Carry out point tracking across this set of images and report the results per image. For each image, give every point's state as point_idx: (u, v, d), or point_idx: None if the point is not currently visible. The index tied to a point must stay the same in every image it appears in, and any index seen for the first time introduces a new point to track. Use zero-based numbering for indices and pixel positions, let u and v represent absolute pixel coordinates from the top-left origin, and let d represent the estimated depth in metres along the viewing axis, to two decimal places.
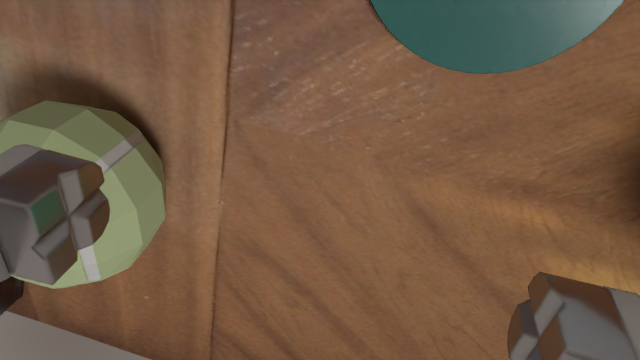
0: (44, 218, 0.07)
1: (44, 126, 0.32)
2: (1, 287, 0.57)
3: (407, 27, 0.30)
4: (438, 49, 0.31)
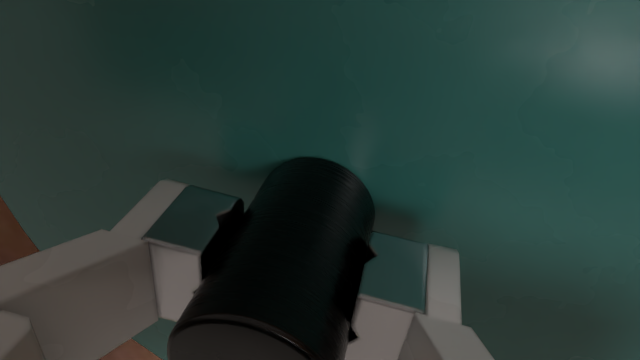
0: (208, 262, 0.07)
1: None
2: None
3: None
4: None
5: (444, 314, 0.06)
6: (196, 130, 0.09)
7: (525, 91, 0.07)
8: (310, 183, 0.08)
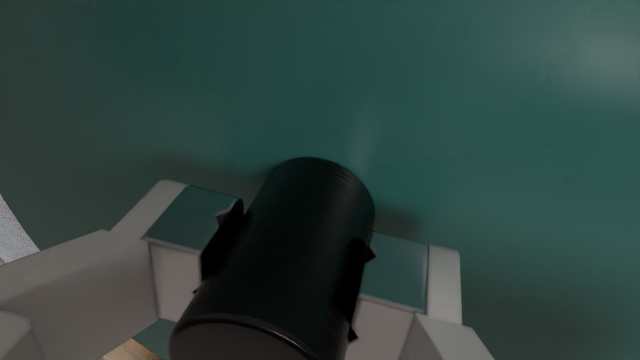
0: (208, 262, 0.07)
1: None
2: None
3: None
4: None
5: (444, 314, 0.06)
6: (197, 130, 0.09)
7: (525, 92, 0.07)
8: (310, 183, 0.08)
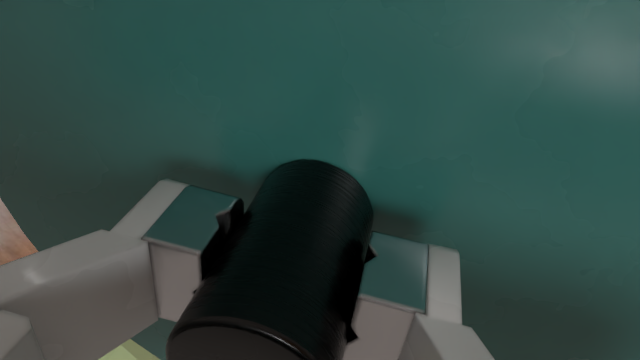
0: (208, 262, 0.07)
1: None
2: None
3: None
4: None
5: (444, 314, 0.06)
6: (195, 133, 0.09)
7: (522, 94, 0.07)
8: (308, 186, 0.08)
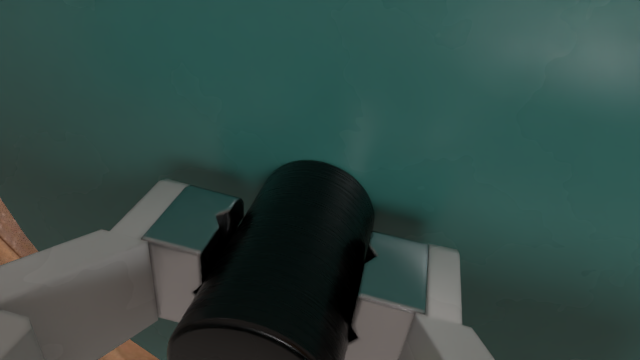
0: (208, 262, 0.07)
1: None
2: None
3: None
4: None
5: (444, 314, 0.06)
6: (196, 133, 0.09)
7: (524, 95, 0.07)
8: (309, 187, 0.08)
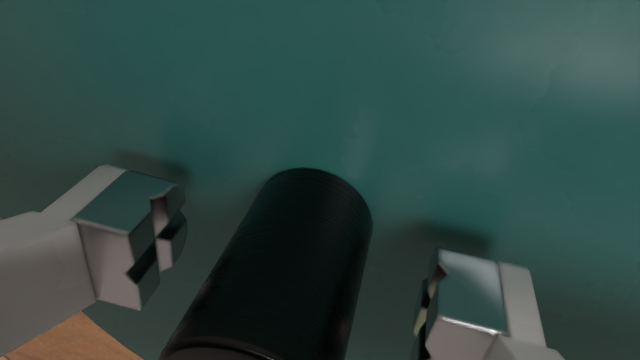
0: (139, 243, 0.07)
1: None
2: None
3: None
4: None
5: (527, 336, 0.06)
6: (190, 140, 0.09)
7: (526, 103, 0.07)
8: (306, 196, 0.08)
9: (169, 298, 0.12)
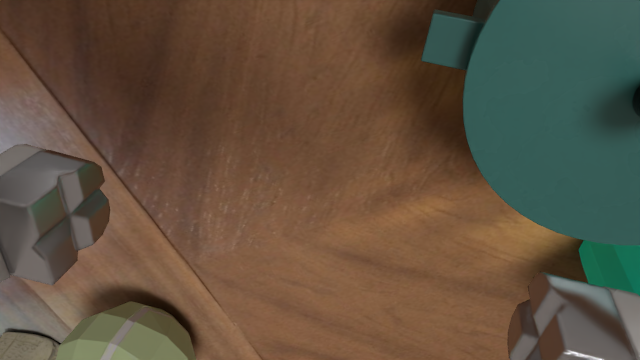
0: (44, 218, 0.07)
1: (74, 339, 0.47)
2: None
3: (603, 227, 0.24)
4: None
5: None
6: (613, 58, 0.19)
7: None
8: None
9: (547, 151, 0.22)
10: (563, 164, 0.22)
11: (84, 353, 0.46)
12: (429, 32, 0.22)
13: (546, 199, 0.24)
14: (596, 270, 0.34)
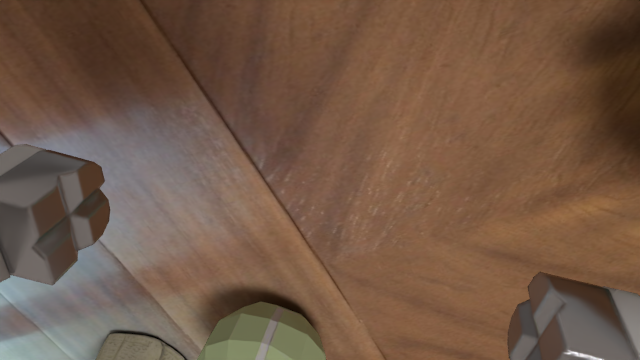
0: (44, 218, 0.07)
1: (223, 340, 0.49)
2: None
3: None
4: None
5: None
6: None
7: None
8: None
9: None
10: None
11: (238, 353, 0.47)
12: None
13: None
14: None
